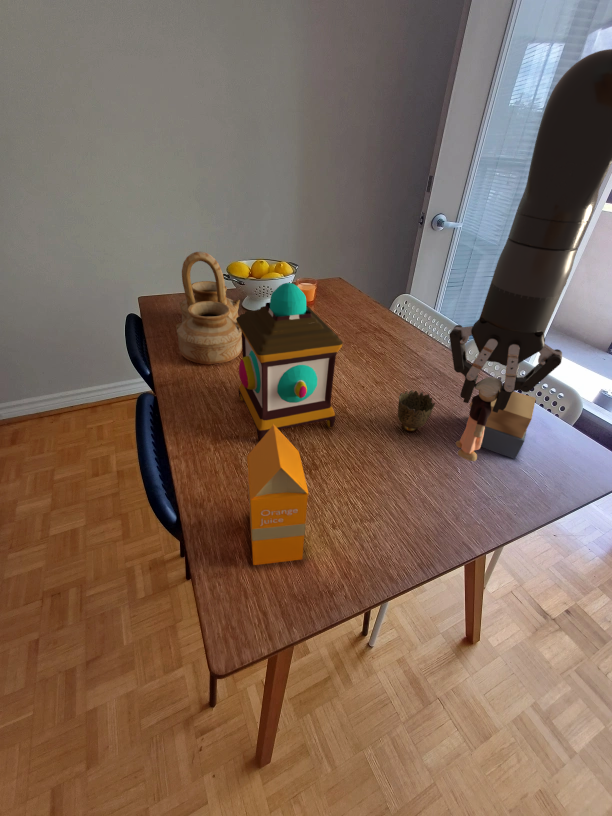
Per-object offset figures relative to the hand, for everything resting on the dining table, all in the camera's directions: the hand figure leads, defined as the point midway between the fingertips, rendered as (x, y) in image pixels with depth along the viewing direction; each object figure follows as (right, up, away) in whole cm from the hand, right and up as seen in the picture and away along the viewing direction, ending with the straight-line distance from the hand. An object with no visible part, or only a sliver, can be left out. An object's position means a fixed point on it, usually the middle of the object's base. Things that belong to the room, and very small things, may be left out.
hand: (481, 404), depth 56 cm
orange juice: (-30, -22, +8) cm, 37 cm away
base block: (+17, -7, +32) cm, 37 cm away
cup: (-2, -5, +33) cm, 33 cm away
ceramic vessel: (-53, +20, +63) cm, 84 cm away
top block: (+17, -3, +29) cm, 34 cm away
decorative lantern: (-30, -2, +35) cm, 46 cm away
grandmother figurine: (0, -7, +5) cm, 8 cm away
